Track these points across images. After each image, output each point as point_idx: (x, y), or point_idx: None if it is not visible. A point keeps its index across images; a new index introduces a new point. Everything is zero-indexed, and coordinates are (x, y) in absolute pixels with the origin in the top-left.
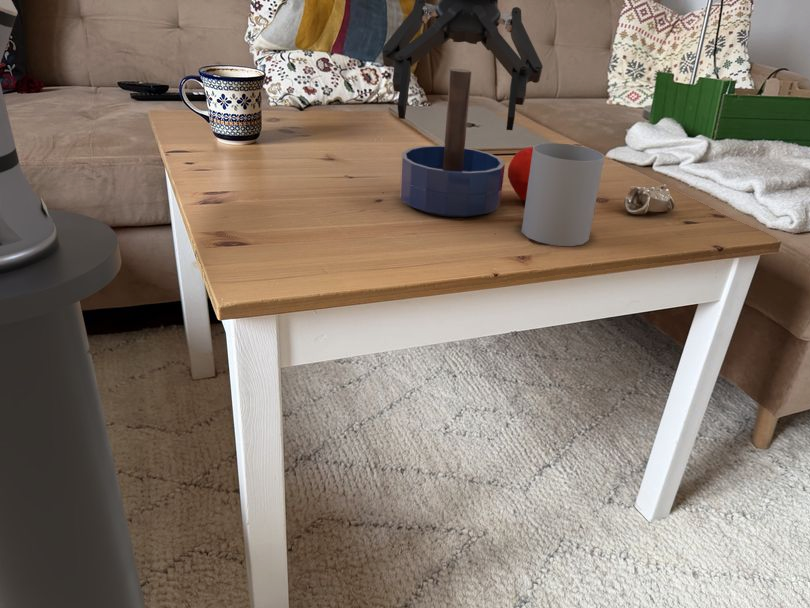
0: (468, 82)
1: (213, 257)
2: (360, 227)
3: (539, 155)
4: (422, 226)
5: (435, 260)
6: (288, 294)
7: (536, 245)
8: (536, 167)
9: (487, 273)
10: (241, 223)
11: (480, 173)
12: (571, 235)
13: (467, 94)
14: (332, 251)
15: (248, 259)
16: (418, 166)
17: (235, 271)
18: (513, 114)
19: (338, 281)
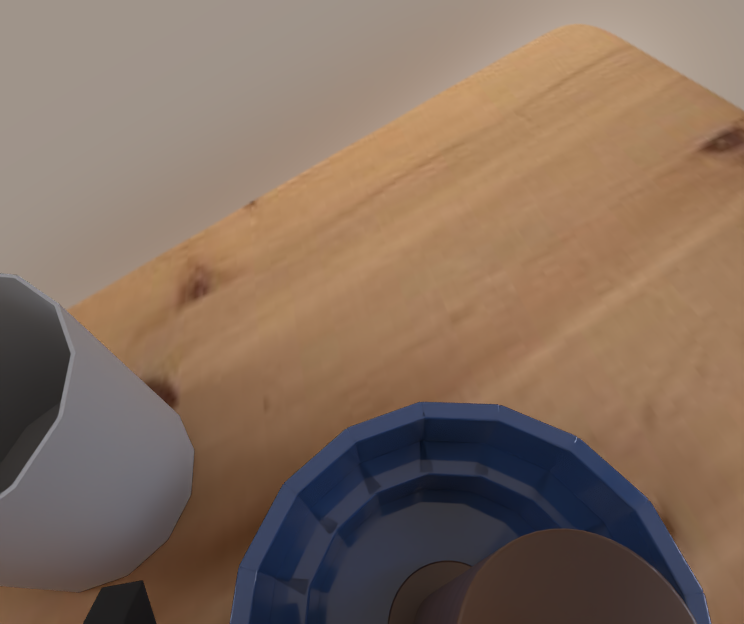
0: (451, 605)
1: (703, 96)
2: (582, 303)
3: (62, 307)
4: (454, 373)
5: (368, 213)
6: (525, 52)
7: (159, 373)
8: (89, 335)
9: (264, 200)
10: None
11: (312, 458)
12: (56, 392)
13: (443, 608)
14: (557, 178)
15: (653, 108)
16: (544, 424)
17: (636, 75)
18: (101, 602)
19: (485, 98)
